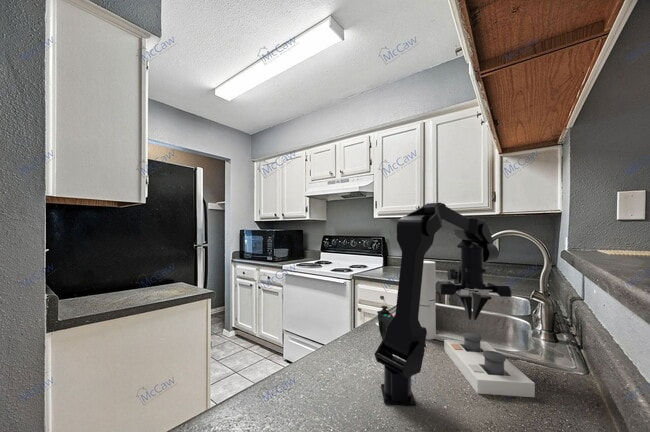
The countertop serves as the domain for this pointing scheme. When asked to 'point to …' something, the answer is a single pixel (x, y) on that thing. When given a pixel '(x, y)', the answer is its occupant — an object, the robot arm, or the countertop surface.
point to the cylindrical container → (428, 299)
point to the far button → (472, 342)
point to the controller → (384, 320)
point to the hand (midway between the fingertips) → (472, 319)
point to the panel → (479, 379)
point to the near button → (494, 363)
